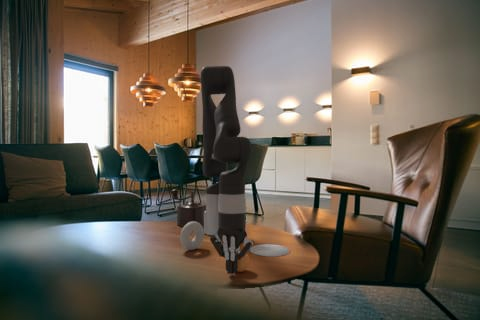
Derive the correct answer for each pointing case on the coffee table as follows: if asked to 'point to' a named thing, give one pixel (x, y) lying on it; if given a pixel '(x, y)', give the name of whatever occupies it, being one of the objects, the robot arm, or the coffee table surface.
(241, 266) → the ball
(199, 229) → the donut
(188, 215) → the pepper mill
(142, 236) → the coffee table surface
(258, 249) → the disc
